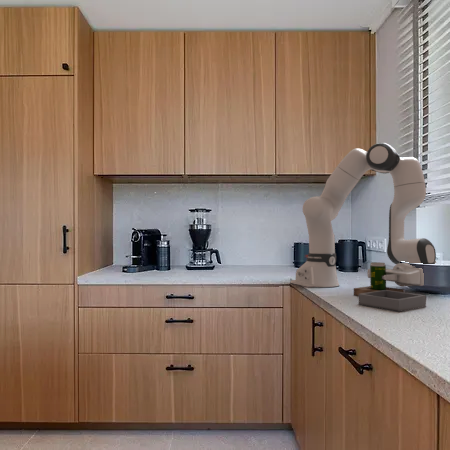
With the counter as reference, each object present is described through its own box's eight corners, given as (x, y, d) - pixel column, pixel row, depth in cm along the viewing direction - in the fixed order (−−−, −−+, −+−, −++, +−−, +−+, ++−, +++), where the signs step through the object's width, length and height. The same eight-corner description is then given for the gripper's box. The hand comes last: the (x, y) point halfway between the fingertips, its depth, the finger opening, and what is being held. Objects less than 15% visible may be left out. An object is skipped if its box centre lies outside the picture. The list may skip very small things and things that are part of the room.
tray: (358, 304, 120) (358, 293, 120) (385, 300, 127) (385, 289, 128) (399, 312, 108) (398, 300, 108) (425, 306, 116) (425, 295, 116)
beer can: (381, 294, 140) (381, 262, 140) (389, 296, 134) (388, 263, 134) (367, 294, 139) (367, 262, 139) (375, 297, 134) (374, 263, 134)
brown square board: (353, 295, 138) (353, 288, 139) (374, 292, 145) (374, 285, 145) (383, 299, 128) (382, 292, 128) (403, 296, 135) (403, 289, 135)
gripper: (383, 264, 151) (356, 265, 146) (427, 268, 132) (398, 270, 127) (383, 279, 151) (356, 281, 146) (427, 286, 132) (398, 288, 127)
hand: (376, 276), depth 136 cm, fingers closed on beer can, 5 cm apart
